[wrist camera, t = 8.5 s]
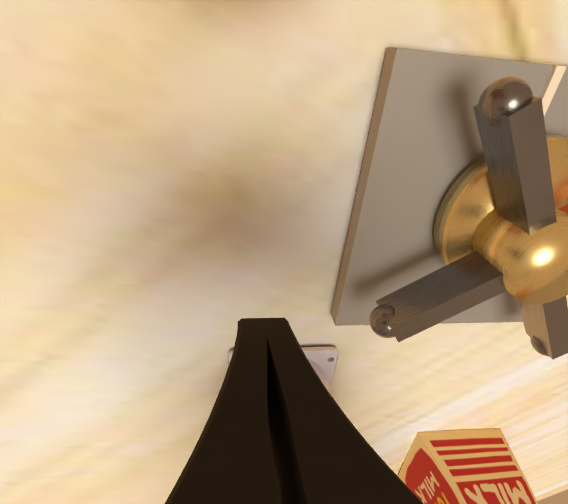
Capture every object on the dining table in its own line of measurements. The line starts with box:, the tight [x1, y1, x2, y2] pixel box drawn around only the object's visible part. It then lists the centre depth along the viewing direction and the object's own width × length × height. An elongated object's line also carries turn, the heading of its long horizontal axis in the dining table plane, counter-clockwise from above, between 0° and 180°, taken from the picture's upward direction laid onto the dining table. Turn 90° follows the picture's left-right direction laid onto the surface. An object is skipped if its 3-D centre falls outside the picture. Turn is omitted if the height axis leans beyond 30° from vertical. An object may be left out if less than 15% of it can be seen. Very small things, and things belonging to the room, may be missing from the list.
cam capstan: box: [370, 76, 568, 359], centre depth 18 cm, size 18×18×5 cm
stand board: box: [331, 48, 568, 325], centre depth 20 cm, size 16×16×1 cm
